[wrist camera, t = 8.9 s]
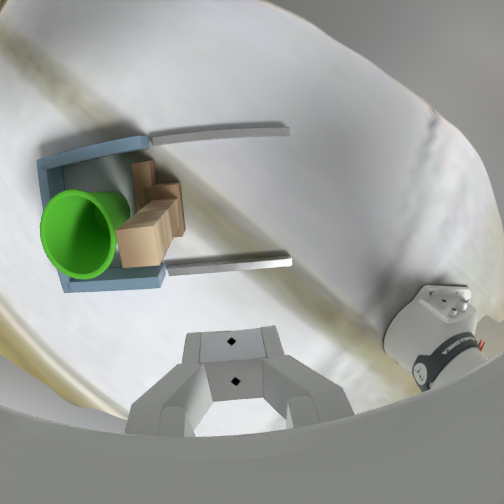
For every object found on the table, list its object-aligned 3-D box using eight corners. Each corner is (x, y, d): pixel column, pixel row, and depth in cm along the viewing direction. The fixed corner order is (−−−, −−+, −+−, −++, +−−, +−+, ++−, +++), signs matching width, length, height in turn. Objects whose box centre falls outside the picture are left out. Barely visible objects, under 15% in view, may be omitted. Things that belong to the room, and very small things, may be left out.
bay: (148, 136, 30) (139, 135, 27) (165, 274, 37) (160, 287, 33) (52, 157, 29) (36, 160, 26) (75, 280, 36) (64, 292, 32)
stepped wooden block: (178, 157, 31) (145, 162, 18) (188, 251, 36) (170, 316, 22) (138, 162, 31) (83, 173, 17) (151, 255, 35) (114, 318, 21)
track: (286, 128, 32) (289, 127, 31) (289, 262, 38) (291, 265, 37) (154, 137, 31) (152, 137, 29) (170, 272, 37) (169, 275, 36)
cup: (130, 165, 31) (93, 173, 21) (155, 231, 35) (130, 265, 24) (74, 192, 31) (27, 211, 21) (99, 253, 35) (63, 290, 24)
